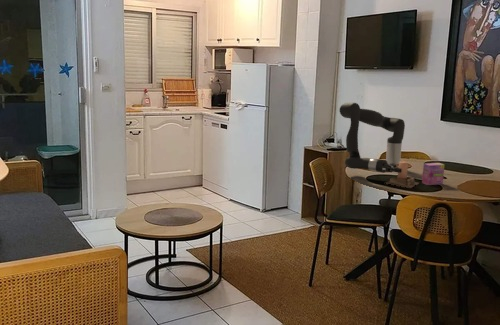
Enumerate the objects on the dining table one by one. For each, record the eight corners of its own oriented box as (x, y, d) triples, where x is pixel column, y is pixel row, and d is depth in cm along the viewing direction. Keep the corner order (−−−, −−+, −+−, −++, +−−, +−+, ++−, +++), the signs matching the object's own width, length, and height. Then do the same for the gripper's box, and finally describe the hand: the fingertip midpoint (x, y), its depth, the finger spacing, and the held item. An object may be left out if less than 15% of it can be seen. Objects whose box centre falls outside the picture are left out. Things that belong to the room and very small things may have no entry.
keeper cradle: (394, 179, 297) (394, 173, 296) (419, 183, 288) (419, 177, 287) (384, 183, 286) (385, 177, 286) (410, 188, 277) (410, 182, 277)
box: (427, 185, 285) (429, 165, 283) (421, 183, 291) (423, 163, 288) (443, 184, 288) (445, 164, 286) (436, 182, 293) (438, 162, 291)
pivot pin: (399, 181, 291) (401, 161, 288) (407, 182, 288) (409, 162, 285) (396, 182, 287) (397, 162, 284) (404, 184, 284) (406, 163, 281)
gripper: (373, 161, 289) (399, 164, 279) (383, 157, 300) (409, 161, 290) (372, 173, 290) (398, 177, 280) (382, 169, 301) (408, 173, 291)
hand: (404, 169), depth 285 cm, fingers open, 8 cm apart
